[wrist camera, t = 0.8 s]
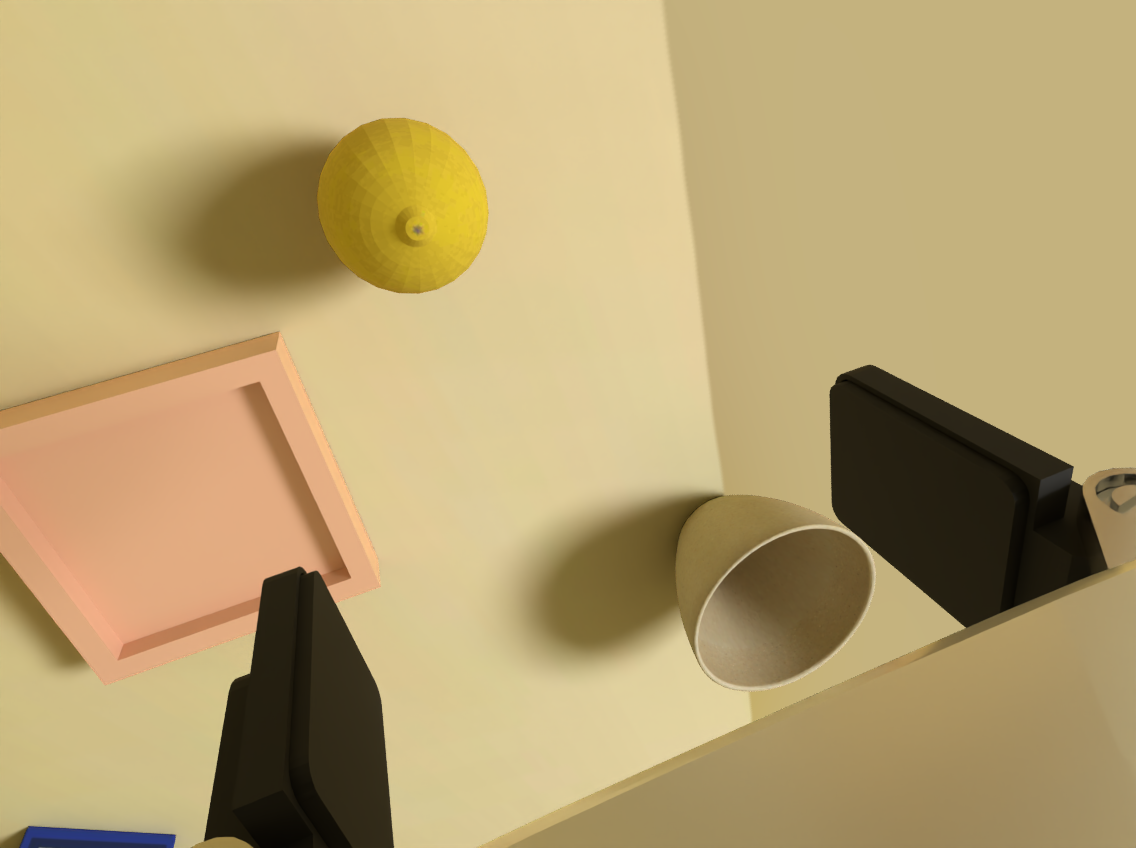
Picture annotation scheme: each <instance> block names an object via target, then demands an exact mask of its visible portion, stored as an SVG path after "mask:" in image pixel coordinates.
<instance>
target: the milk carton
mask: <svg viewBox="0 0 1136 848" xmlns="http://www.w3.org/2000/svg"><path fill="white" fill-rule="evenodd" d="M28 827H29V828H27V830H26V832H25V835H24V837H23V840H22V842H21V845H20V847H19V848H174V843H175V838H176V837H175V835H168V834H151V833H134V832H117V831H100V830H83V829H66V828H49V827H32V826H28Z"/></svg>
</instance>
